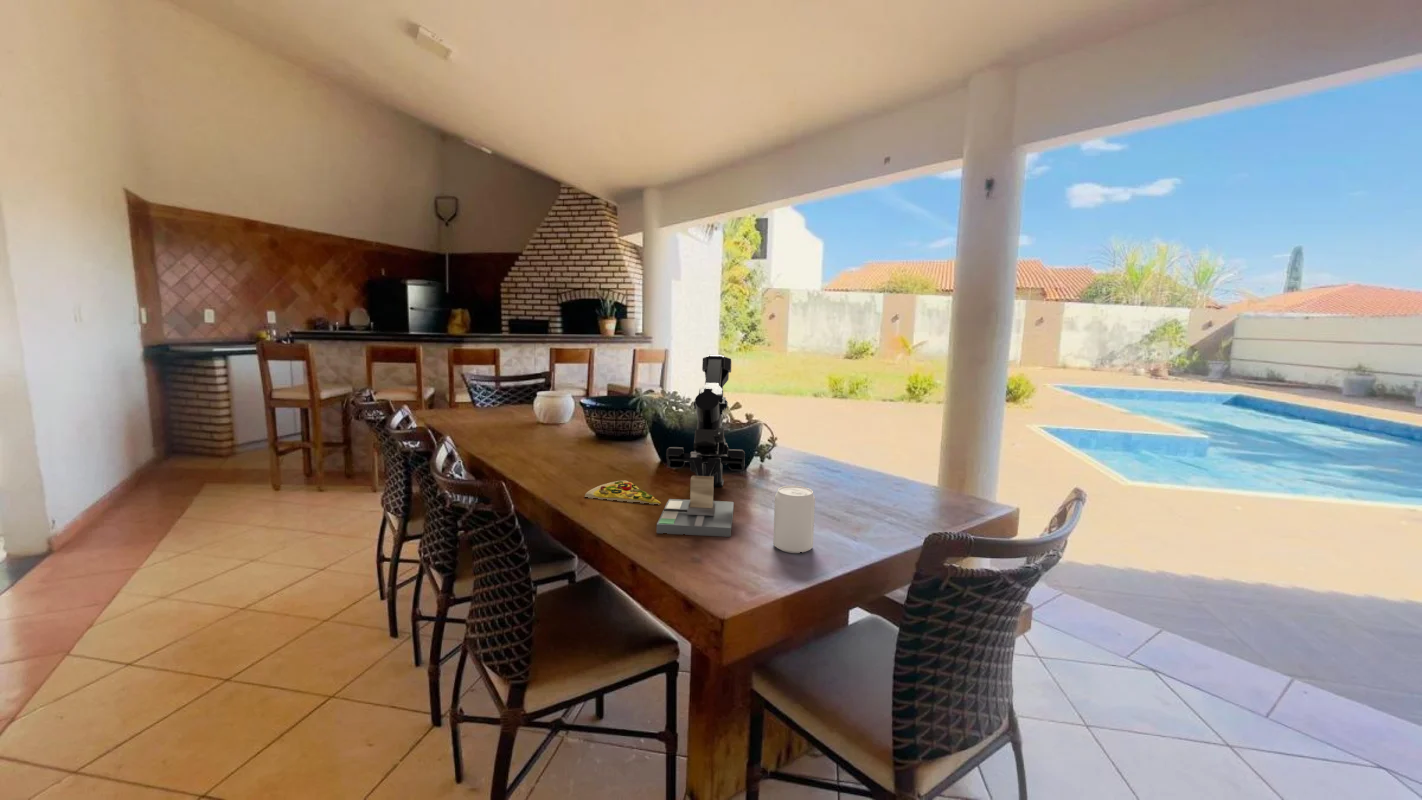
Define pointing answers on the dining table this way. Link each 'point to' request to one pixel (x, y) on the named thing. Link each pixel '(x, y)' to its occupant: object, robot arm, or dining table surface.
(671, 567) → the dining table surface
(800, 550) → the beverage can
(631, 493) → the pizza slice
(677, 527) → the board
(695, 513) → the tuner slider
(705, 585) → the dining table surface
